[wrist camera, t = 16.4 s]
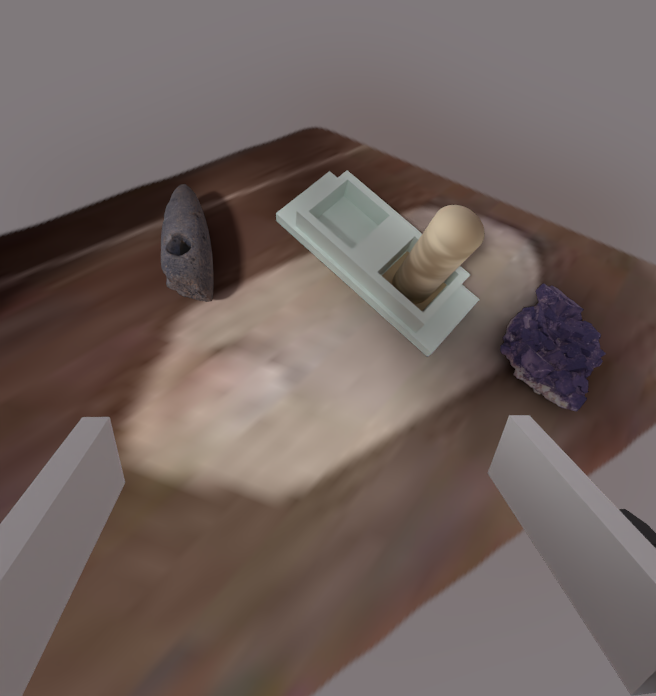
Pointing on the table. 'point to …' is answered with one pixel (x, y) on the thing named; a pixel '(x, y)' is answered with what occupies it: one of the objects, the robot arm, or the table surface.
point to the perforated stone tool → (187, 246)
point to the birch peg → (439, 252)
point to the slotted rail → (373, 255)
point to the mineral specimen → (553, 348)
